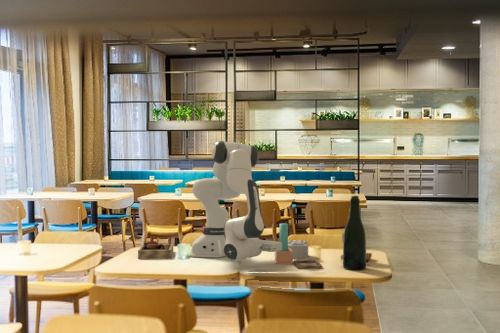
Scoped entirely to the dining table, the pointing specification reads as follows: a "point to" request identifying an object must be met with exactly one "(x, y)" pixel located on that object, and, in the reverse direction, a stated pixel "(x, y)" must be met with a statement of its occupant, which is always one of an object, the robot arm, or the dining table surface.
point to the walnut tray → (307, 264)
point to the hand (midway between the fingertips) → (270, 242)
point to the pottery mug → (153, 246)
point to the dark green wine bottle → (354, 239)
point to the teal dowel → (283, 236)
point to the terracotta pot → (284, 257)
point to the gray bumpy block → (299, 249)
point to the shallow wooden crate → (156, 252)
